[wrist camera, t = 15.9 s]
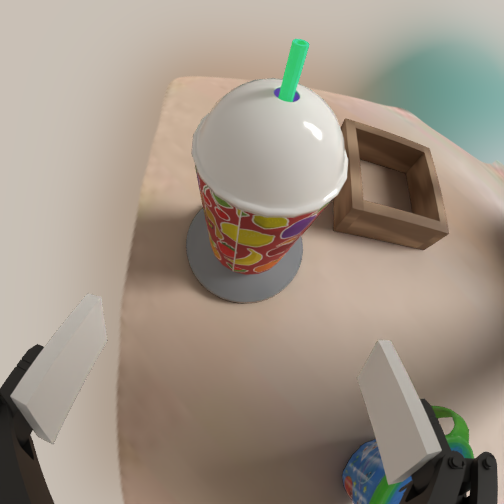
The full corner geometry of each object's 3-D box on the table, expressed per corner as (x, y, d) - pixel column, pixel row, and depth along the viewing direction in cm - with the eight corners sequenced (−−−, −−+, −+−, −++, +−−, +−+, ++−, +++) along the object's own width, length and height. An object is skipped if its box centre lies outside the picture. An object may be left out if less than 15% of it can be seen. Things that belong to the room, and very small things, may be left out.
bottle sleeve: (331, 144, 34) (345, 118, 30) (411, 169, 35) (429, 148, 30) (333, 230, 30) (352, 208, 25) (423, 250, 31) (449, 233, 26)
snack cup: (388, 383, 25) (457, 386, 15) (438, 428, 23) (501, 437, 13) (286, 499, 20) (318, 553, 10) (351, 532, 18) (395, 574, 8)
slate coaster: (245, 180, 31) (246, 174, 30) (321, 251, 29) (324, 247, 28) (164, 242, 27) (162, 238, 26) (243, 328, 25) (244, 327, 24)
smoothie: (216, 195, 29) (227, -3, 10) (297, 217, 29) (389, 41, 10) (190, 273, 25) (142, 77, 7) (281, 297, 26) (418, 152, 7)
